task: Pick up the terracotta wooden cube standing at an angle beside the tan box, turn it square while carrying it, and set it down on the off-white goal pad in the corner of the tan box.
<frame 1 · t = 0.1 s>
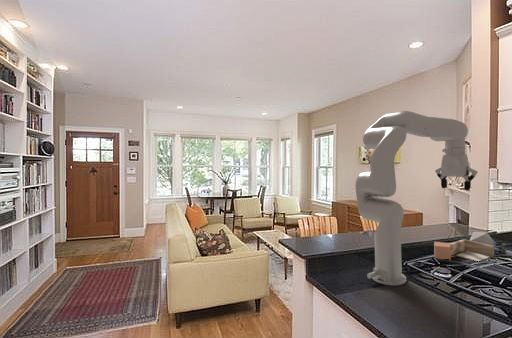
hand: (455, 188, 132), 31 cm above the counter, tool pointing down, fingers open, 9 cm apart
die: (481, 249, 140), on the counter
tan box: (471, 258, 129), on the counter
cube: (442, 257, 133), on the counter
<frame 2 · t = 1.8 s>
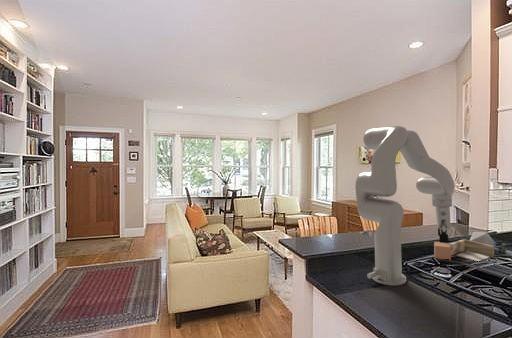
hand: (443, 239, 133), 8 cm above the counter, tool pointing down, fingers open, 9 cm apart
nothing on the counter moved.
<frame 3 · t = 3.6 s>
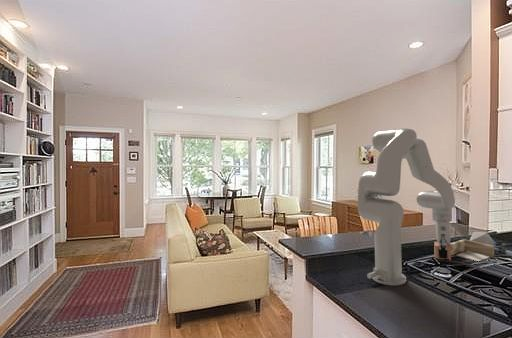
hand: (442, 255, 133), 1 cm above the counter, tool pointing down, fingers closed on cube, 6 cm apart
cube: (442, 257, 133), on the counter, touching gripper
everything else where it was.
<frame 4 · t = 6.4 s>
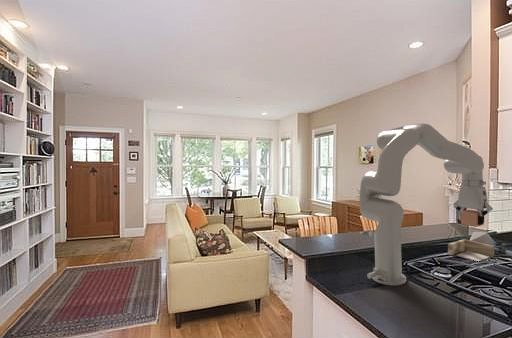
hand: (472, 222, 130), 16 cm above the counter, tool pointing down, fingers closed on cube, 6 cm apart
cube: (472, 224, 130), point 15 cm above the counter, touching gripper
everything else where it was.
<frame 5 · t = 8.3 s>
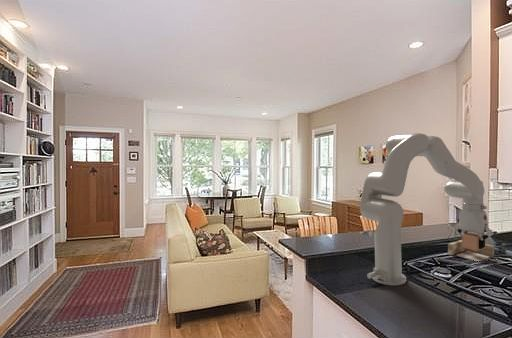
hand: (473, 245, 131), 5 cm above the counter, tool pointing down, fingers closed on cube, 6 cm apart
cube: (473, 247, 131), point 4 cm above the counter, touching gripper
everything else where it was.
when the fingers open (2 cm above the counter, at t = 9.7 s): cube drops 1 cm, resting on tan box.
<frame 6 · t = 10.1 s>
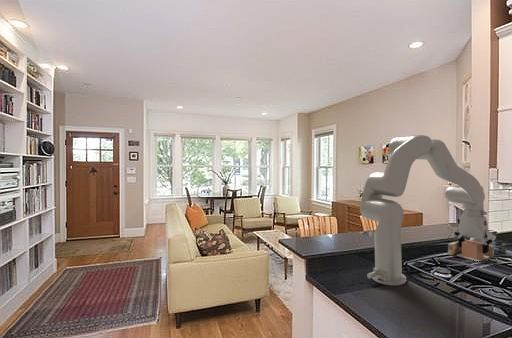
hand: (473, 249, 131), 3 cm above the counter, tool pointing down, fingers open, 9 cm apart
cube: (472, 255, 131), resting on tan box
everything else where it was.
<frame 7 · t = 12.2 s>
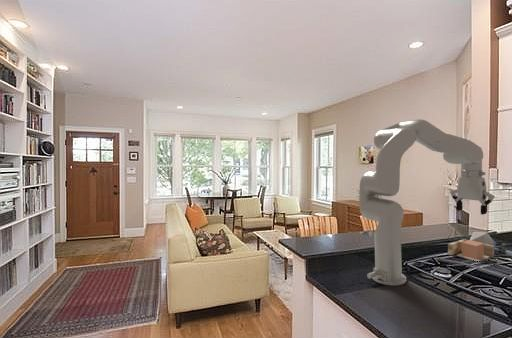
hand: (471, 212, 130), 21 cm above the counter, tool pointing down, fingers open, 9 cm apart
nothing on the counter moved.
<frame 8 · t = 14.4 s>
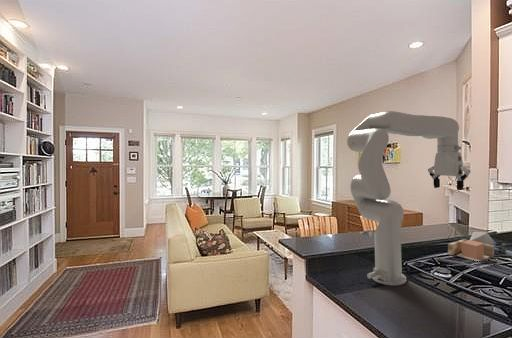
hand: (448, 188, 126), 32 cm above the counter, tool pointing down, fingers open, 9 cm apart
nothing on the counter moved.
at the end: cube 0.1 cm from the target spot, resting on tan box; cube tilted 0°; the gripper is holding nothing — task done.
